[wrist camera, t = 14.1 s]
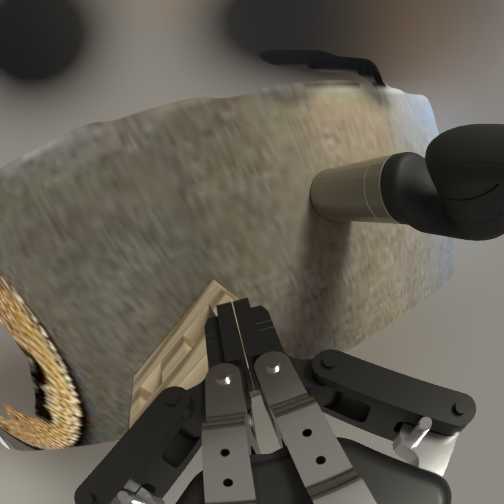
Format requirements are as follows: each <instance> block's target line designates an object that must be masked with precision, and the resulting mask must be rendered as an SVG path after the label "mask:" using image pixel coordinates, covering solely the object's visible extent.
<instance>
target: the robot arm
mask: <svg viewBox="0 0 504 504" xmlns="http://www.w3.org/2000/svg"><path fill="white" fill-rule="evenodd" d="M311 200H312V203H313V206H314V208H315V210H316V211H317V212H318V213H319V215H321V216H322V217H323V218H325V219H328V220H337V221H356V222H375V223H394V224H407V225H410V226H411V227H413V228H415V229H416V230H418V231H421V232H424V233H430V234H436V235H441V236H447V237H452V238H459V239H464V240H474V241H479V240H489V239H494V238H497V237H499V236H501V235H503V234H504V124H471V125H465V126H460V127H456V128H453V129H450V130H447V131H445V132H443V133H441V134H440V135H438V136H437V137H436V138H434V139H433V140H432V141H431V143H430V144H429V146H428V147H427V150H426V155H425V158H423V157H422V156H420V155H419V154H416V153H413V152H404V153H398V154H393V155H389V156H384V157H379V158H375V159H370V160H366V161H361V162H357V163H352V164H348V165H344V166H339V167H335V168H331V169H327V170H324V171H322V172H320V173H319V174H318V175H317V176H316V177H315V178H314V180H313V183H312V186H311ZM233 306H234V310H235V314H236V318H237V322H238V325H237V322H236V318H235V314H234V310H233ZM233 306H232V303H231V302H228V303H223V304H219V305H216V308H217V314H218V316H215V317H211V318H208V319H207V321H206V324H205V326H204V330H205V340H206V350H207V359H208V372H207V374H206V376H205V379H204V380H203V381H202V382H201V383H199V384H198V385H196V386H194V387H192V388H190V389H188V390H185V389H184V388H182V387H178V386H172V387H168V388H166V389H164V390H163V391H161V392H160V393H159V395H158V396H157V397H156V398H155V399H154V401H153V402H152V403H151V404H150V405H149V407H148V408H147V409H146V410H145V411H144V412H143V414H142V415H141V416H140V417H139V418H138V419H137V421H136V422H135V423H134V424H133V425H132V427H131V428H130V429H129V430H128V431H127V432H126V434H125V435H124V436H123V437H122V438H121V439H120V441H119V442H118V443H117V444H116V445H115V446H114V447H113V449H112V450H111V451H110V452H109V453H108V454H107V456H106V457H105V458H104V459H103V460H102V461H101V462H100V463H99V465H98V466H97V467H96V468H95V469H94V470H93V471H92V473H91V474H90V475H89V476H88V477H87V478H86V479H85V481H84V482H83V483H82V484H81V485H80V486H79V487H78V488H77V490H76V492H75V496H74V498H75V503H76V504H165V503H164V501H163V500H162V498H163V497H164V495H165V494H166V493H167V492H168V490H169V489H170V487H171V486H172V485H173V484H174V482H175V481H176V480H177V478H178V477H179V476H180V475H181V473H182V472H183V470H184V469H185V468H186V466H187V465H188V464H189V462H190V461H191V460H192V458H193V457H194V455H195V454H196V453H197V451H198V450H199V448H200V447H201V446H202V458H203V471H201V472H200V473H199V474H197V475H196V476H195V477H194V478H193V480H192V481H191V482H190V484H189V485H188V486H187V488H186V490H185V491H184V492H183V494H182V495H181V497H180V498H179V500H178V501H177V502H176V504H451V490H450V487H449V485H448V483H447V481H446V480H445V479H444V478H443V477H442V476H443V473H444V471H445V469H446V466H447V464H448V461H449V459H450V457H451V454H452V451H453V449H454V446H455V443H456V440H457V437H458V434H459V433H460V432H461V431H462V430H463V429H464V428H465V427H466V425H467V424H468V423H470V421H471V420H472V419H473V418H474V416H475V413H476V405H475V402H474V400H473V399H472V398H471V397H470V396H469V395H467V394H464V393H461V392H458V391H454V390H451V389H448V388H444V387H441V386H438V385H434V384H431V383H428V382H425V381H421V380H419V379H416V378H412V377H410V376H407V375H404V374H400V373H398V372H395V371H392V370H389V369H386V368H383V367H380V366H378V365H375V364H372V363H369V362H367V361H364V360H361V359H359V358H356V357H353V356H351V355H348V354H346V353H343V352H340V351H338V350H324V351H322V352H320V353H318V354H317V355H316V356H315V357H314V359H307V360H299V359H294V358H292V357H290V356H288V355H287V354H286V353H285V352H284V350H283V348H282V345H281V343H280V340H279V338H278V335H277V333H276V330H275V328H274V325H273V322H272V320H271V317H270V315H269V312H268V311H267V310H266V309H265V308H264V307H262V306H257V307H253V308H251V307H250V304H249V301H248V298H244V299H240V300H236V301H233ZM238 327H239V329H238ZM239 331H240V333H239ZM240 335H241V337H240ZM241 339H242V341H241ZM242 343H243V345H242ZM243 347H244V350H243ZM244 351H245V354H244ZM245 355H246V358H245ZM246 359H247V362H248V366H249V370H250V373H251V377H252V380H253V384H254V387H255V390H258V389H260V392H261V395H262V399H263V402H264V405H265V408H266V411H267V413H268V416H269V418H270V421H271V423H272V426H273V428H274V431H275V433H276V436H277V438H278V441H279V444H280V447H281V449H279V450H277V451H275V452H273V453H271V454H260V450H259V446H258V442H257V437H256V431H255V424H254V418H253V411H252V406H251V403H252V402H251V397H250V393H249V392H250V391H254V389H253V385H252V381H251V377H250V374H249V370H248V366H247V362H246ZM322 412H324V413H326V414H329V415H331V416H333V417H335V418H337V419H340V420H342V421H344V422H346V423H349V424H351V425H353V426H356V427H358V428H360V429H363V430H365V431H368V432H370V433H373V434H376V435H378V436H380V437H383V438H386V439H388V440H391V441H393V449H394V451H395V453H396V454H397V455H398V456H400V457H402V458H403V459H405V460H406V461H407V463H405V462H403V461H400V460H397V459H394V458H392V457H390V456H387V455H385V454H382V453H380V452H378V451H375V450H373V449H371V448H369V447H366V446H364V445H362V444H360V443H358V442H355V441H353V440H350V439H346V438H340V437H336V436H335V434H334V433H333V431H332V429H331V427H330V425H329V424H328V422H327V420H326V418H325V416H324V414H323V413H322Z"/></svg>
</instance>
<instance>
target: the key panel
mask: <svg viewBox="0 0 504 504" xmlns="http://www.w3.org/2000/svg"><path fill="white" fill-rule="evenodd" d="M236 300H239V299H238V298H237V297H235V296H234V295H233V294H232V293H230V292H229V291H228V290H226V289H225V288H224V287H223V286H221V285H220V284H219V283H218V282H216V281H215V280H214V279H213V280H212V282H211V283H210V284H209V285H208V286H207V288H206V289H205V290H204V291H203V293H202V294H201V295H200V296H199V297H198V299H197V300H196V301H195V302H194V303H193V305H192V306H191V307H190V308H189V310H188V311H187V312H186V313H185V314H184V316H183V317H182V318H181V319H180V321H179V322H178V323H177V324H176V325H175V327H174V328H173V329H172V330H171V332H170V333H169V334H168V335H167V336H166V338H165V339H164V340H163V341H162V343H161V344H160V345H159V346H158V348H157V349H156V350H155V351H154V353H153V354H152V355H151V356H150V357H149V359H148V360H147V361H146V362H145V364H144V365H143V366H142V367H141V369H140V370H139V371H138V372H137V374H136V375H135V376H134V383H133V391H132V401H131V412H130V425H129V429H130V428H131V427H132V425H133V424H134V423H135V422H136V421H137V419H138V418H139V417H140V416H141V415H142V414H143V412H144V411H145V410H146V409H147V408H148V407H149V405H150V404H151V403H152V402H153V401H154V399H155V398H156V397H157V396H158V395H159V393H160V392H161V391H163V390H164V389H166V388H168V387H172V386H178V387H182V388H184V389H185V390H188V389H190V388H192V387H194V386H196V385H198V384H199V383H201V382H202V381H203V380H204V379H205V376H206V374H207V372H208V359H207V350H206V340H205V330H204V326H205V324H206V321H207V319H208V318H211V317H215V316H218V314H217V308H216V305H219V304H223V303H228V302H231V303H232V306H233V301H236ZM233 310H234V306H233ZM234 314H235V310H234ZM235 318H236V314H235ZM236 322H237V318H236ZM237 325H238V322H237ZM238 329H239V327H238ZM239 333H240V331H239ZM240 337H241V335H240ZM241 341H242V339H241ZM242 345H243V343H242ZM243 350H244V347H243ZM244 354H245V351H244ZM245 358H246V355H245ZM246 362H247V359H246ZM247 366H248V362H247ZM248 368H249V366H248Z"/></svg>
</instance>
